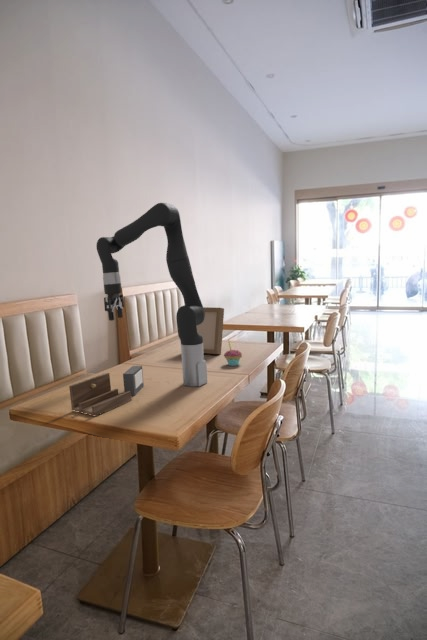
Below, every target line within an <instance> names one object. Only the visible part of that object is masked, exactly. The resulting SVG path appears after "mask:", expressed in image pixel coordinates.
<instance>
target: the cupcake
mask: <svg viewBox="0 0 427 640" xmlns="http://www.w3.org/2000/svg"><path fill="white" fill-rule="evenodd" d="M228 346H229V350H227V351H226V352H225V353H224V354H223V357H224V359H226V362H227V364H228V366H232V367H234V366H235V367H236V366H239V364H240V359H241V358H242V357H243V354H242V353H243V352H241V351H240V350H236V349H232V346H231V342H230V340H228Z"/></svg>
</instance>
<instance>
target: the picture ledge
mask: <svg viewBox="0 0 427 640" xmlns="http://www.w3.org/2000/svg"><path fill="white" fill-rule="evenodd" d="M110 375H111V374H110V372H105V373H102V374H100V375H97V376H96V375H95V376H94V377H93V376H92V377H91V378H88V379H85V380H82V381H79V382H77V383H74V384H73V383H72V384H71V385H69V387H68V388H69V394H70V395H69V396H70V402H71V403H70V405H71V411H72V410H75V411H79V412H83V413H87V414H91V415H98V414H100V413H102V414H104V413H103V412H105V411H107V412H109V411H111V410H114V409H116V408H118V407H120V406H122V404H123V405H125V404H127V403H129V402H131V401H132V400H133V396H131V391H128V392H123V393H121V394H119V389H118V388H115V389H111V376H110ZM117 406H118V407H117ZM115 407H116V408H115ZM113 408H114V409H113ZM110 409H111V410H110ZM108 410H109V411H108ZM105 413H106V412H105ZM100 415H101V414H100ZM98 416H99V415H98Z"/></svg>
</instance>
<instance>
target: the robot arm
mask: <svg viewBox="0 0 427 640" xmlns="http://www.w3.org/2000/svg"><path fill="white" fill-rule="evenodd" d="M156 227H163V228H164V232H165V234H166V235H165V236H166V239H167V247H166V256H165V261H166V266H167V269H168V273H169V277H170V279H172V280H171V281H172V282H173V283H174V284H175V286H176V287H177V288H178V289H179V292H180V293H181V295H182V299H183V301H184V305H182V306H179V308H178V309H177V311H176V315H175V316H176V317H175V318H176V327H177V328H176V329H177V335H178V338H179V341H180V352H181V366H182V367H181V368H182V381H183V382H182V383H183V384H182V385H183V386H187V387H201V386H203V385H204V384H207V383H208V368H207V366H208V365H207V360H206V359H205V355H204V354H205V353H204V351H203V337H202V335H200V334H198V333H197V327H196V326H197V325H199V324H201V323H202V322H203V321H204V318H205V312H204V308H203V307H204V306H203V303H202V299H201V298H200V295H199V292H198V289H197V285H196V281H195V278H194V274H193V270H192V266H191V262H190V258H189V254H188V251H187V246H186V243H185V239H184V234H183V230H182V229H183V228H182V222H181V215H180V211H179V210H178V208H177V207H176V205H173V204H171V203H167V202H157V203H156V204H154V205H153V206H152V207H150V209H148V210H147V211H146V212H144V214H142V215H141V216H139V217H138V218H136V219H135V220H134V221H133V222H131V223H129V224H127V225H125V226H123V227H122V228H121V229H118V230H117V231H116V232H114V234H113V235H112V237H110V236H109V237H108V236H102V237H99V238H98V240H97V241H96V252H97V255H98V257H99V260H100V262H101V268H102V281H103V292H104V295H107V297H106V296H105V297H103V303H104V311H105V312H107V314H108V315H107V316H108V321H110V322H112V321H115V315H114V310H115V308H116V313H117V314H116V315H117V318H118V319H121V318H123V317H124V316H123V309H124V308H125V302H124V301H125V300H124V295H123V294H122V292H123V291H122V290H123V289H122V281H121V274H120V268H119V262H118V260H117V259H116V258H114V257H113V255H112V254H116V253H119V252H120V251H121V250H123V248H124V247H126V246H128V245H129V244H131V243H133V242H135V241H136V240H138V239H139V238H140V237H142V235H143V234H144V233H145V232H147V231H149V230H150V229H153V228H156Z"/></svg>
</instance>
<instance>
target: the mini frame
mask: <svg viewBox="0 0 427 640" xmlns="http://www.w3.org/2000/svg"><path fill="white" fill-rule="evenodd" d="M143 375H144V373H143V365H132V366H131V367H129V368H128V369H127V370H126V371H124V373H123V374H122V377H123V379H122V380H123V387H124V388H123V389H124V392H123V393H125V392H128V391H131V396H132V397H135V396H136V395H137V394H138V393H139V392H140V391H141V390H142V389H143V388H144V387H145V386H144V376H143Z"/></svg>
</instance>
